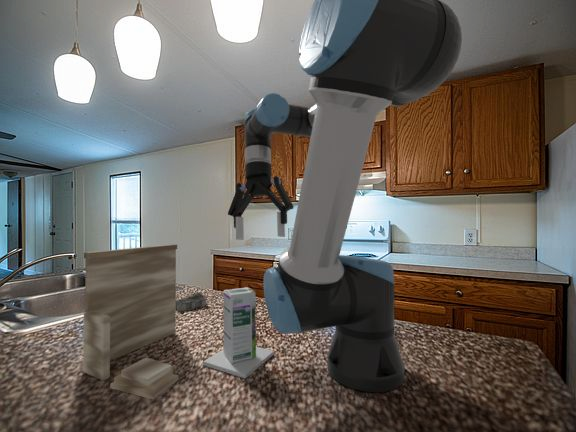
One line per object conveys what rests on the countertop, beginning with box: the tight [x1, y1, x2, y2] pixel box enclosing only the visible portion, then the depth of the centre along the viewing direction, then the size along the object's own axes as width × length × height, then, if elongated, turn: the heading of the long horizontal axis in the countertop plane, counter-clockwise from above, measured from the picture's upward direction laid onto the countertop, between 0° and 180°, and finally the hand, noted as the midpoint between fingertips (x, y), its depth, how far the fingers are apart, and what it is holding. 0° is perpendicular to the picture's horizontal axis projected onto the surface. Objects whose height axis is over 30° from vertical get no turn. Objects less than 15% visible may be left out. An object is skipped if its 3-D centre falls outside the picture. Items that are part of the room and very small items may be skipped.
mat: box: [202, 346, 275, 379], centre depth 62 cm, size 11×11×1 cm
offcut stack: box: [109, 357, 180, 400], centre depth 53 cm, size 10×7×4 cm
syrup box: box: [222, 286, 257, 364], centre depth 62 cm, size 6×6×14 cm
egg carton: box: [176, 291, 208, 312], centre depth 100 cm, size 11×8×4 cm
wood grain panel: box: [82, 243, 178, 381], centre depth 66 cm, size 8×23×24 cm, turn 153°
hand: (259, 238), depth 77 cm, fingers open, 13 cm apart
